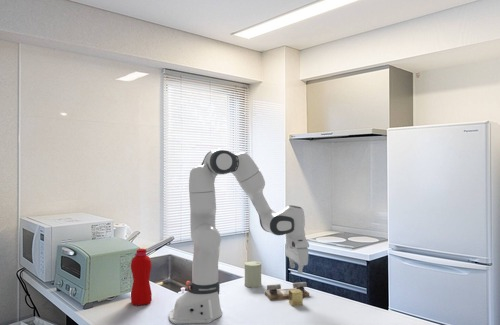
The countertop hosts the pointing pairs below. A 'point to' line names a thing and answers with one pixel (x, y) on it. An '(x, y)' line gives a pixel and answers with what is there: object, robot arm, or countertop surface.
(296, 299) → the block
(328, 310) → the countertop surface
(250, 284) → the can
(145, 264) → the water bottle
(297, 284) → the shaft mount
